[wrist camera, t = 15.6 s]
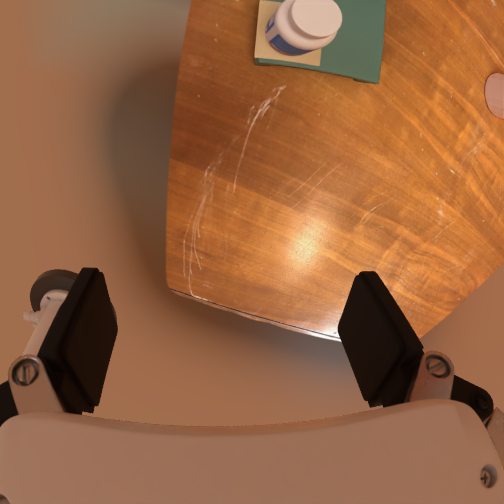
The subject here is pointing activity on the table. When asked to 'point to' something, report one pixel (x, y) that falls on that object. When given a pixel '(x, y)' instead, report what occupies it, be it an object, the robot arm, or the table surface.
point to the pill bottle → (303, 26)
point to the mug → (495, 94)
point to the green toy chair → (334, 42)
